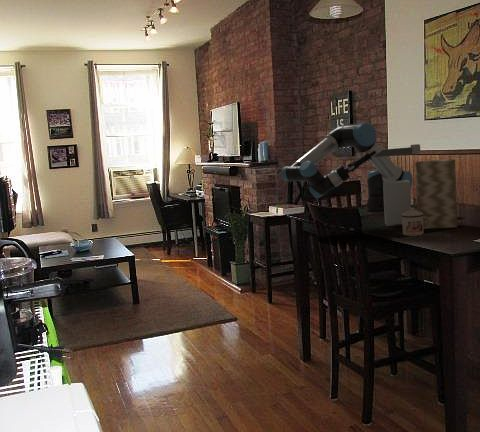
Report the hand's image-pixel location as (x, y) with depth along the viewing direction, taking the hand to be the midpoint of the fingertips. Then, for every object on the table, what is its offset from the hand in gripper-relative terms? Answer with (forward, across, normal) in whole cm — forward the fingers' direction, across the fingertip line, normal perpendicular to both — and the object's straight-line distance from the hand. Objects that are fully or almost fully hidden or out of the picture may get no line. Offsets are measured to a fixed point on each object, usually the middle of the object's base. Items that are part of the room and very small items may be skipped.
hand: (381, 147), depth 243 cm
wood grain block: (0, -4, +44) cm, 44 cm away
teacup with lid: (-9, -20, +39) cm, 45 cm away
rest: (-14, +8, +36) cm, 39 cm away
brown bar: (+2, 0, +6) cm, 6 cm away
